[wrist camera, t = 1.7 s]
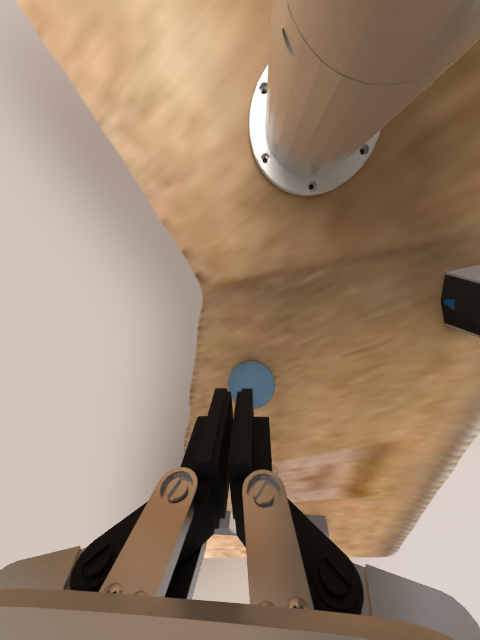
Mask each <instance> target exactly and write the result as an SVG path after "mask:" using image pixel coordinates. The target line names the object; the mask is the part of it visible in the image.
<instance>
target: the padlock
mask: <svg viewBox="0 0 480 640" xmlns="http://www.w3.org/2000/svg"><path fill="white" fill-rule="evenodd" d="M441 304H442V310H443V317H444V323H445V325H446V326H449V327H451V328H454V329H457V330H460V331H463V332H465V333H468V334H471V335H474V336H477V337H479V338H480V265H474V266H470V267H466V268H461V269H457V270H452V271H448V272H446V274H445V279H444V285H443V291H442V297H441Z"/></svg>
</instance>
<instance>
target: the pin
mask: <svg viewBox="0 0 480 640" xmlns="http://www.w3.org/2000/svg"><path fill="white" fill-rule="evenodd" d="M229 530H230V531H231V532H233V533H235V534H236V525H235V519H233V512H232V503H231V513H230V524H229Z"/></svg>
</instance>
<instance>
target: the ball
mask: <svg viewBox="0 0 480 640" xmlns="http://www.w3.org/2000/svg"><path fill="white" fill-rule="evenodd" d="M228 386H229V391H231V396H232V398H233V400H234V401H235V402H236V397H237V391H241V389H242V388H252V389H253V409H257V408H260V407H262V406H264V405H265V404H267V403H268V402H269V401H270V399H271V398H272V396H273V394H274V390H275V380H274V377H273V374H272V372H271V371H270V370H269V368H268V367H267V366H265V365H264V364H262V363H260V362H258V361H245V362H242V363H240V364H239V365H237V366H236V367H235V368H234V369H233V371H232V372H231V374H230V377H229V383H228Z"/></svg>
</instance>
